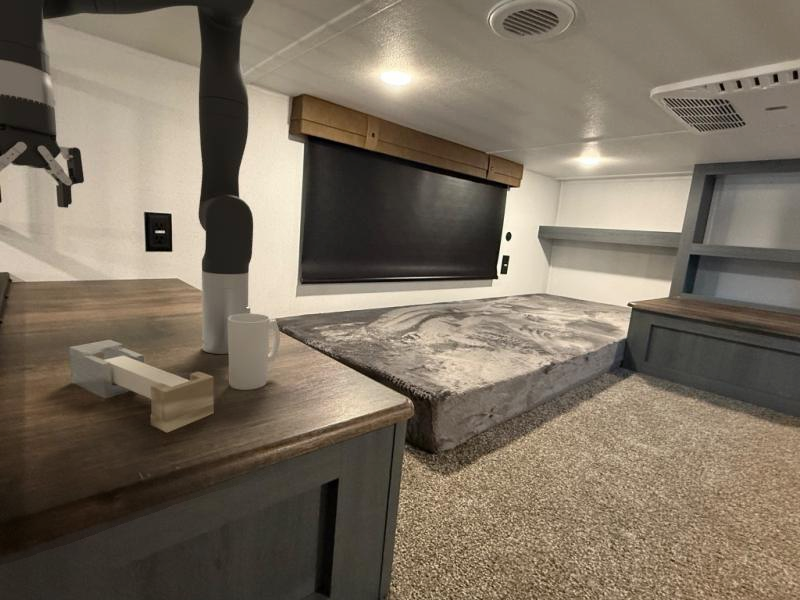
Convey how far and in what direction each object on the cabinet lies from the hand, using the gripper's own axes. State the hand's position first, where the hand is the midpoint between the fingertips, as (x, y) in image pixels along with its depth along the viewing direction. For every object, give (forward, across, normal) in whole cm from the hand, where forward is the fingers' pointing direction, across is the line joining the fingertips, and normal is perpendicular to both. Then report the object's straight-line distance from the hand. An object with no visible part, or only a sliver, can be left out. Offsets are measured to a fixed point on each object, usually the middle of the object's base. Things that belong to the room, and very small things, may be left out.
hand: (31, 205), depth 64 cm
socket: (+28, -2, +35) cm, 45 cm away
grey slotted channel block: (+28, -2, +16) cm, 32 cm away
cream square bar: (+26, -2, +27) cm, 37 cm away
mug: (+28, -18, +32) cm, 47 cm away
